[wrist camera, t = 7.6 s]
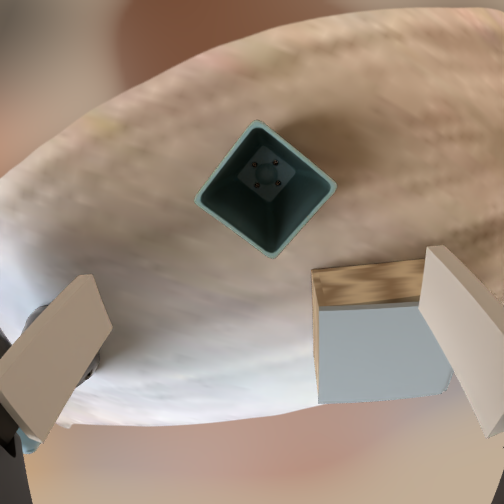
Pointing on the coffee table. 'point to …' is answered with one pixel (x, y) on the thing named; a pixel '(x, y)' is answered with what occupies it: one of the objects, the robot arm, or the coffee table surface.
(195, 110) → the coffee table surface
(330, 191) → the flower pot
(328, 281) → the crate
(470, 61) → the coffee table surface
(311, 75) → the coffee table surface
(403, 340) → the lid
